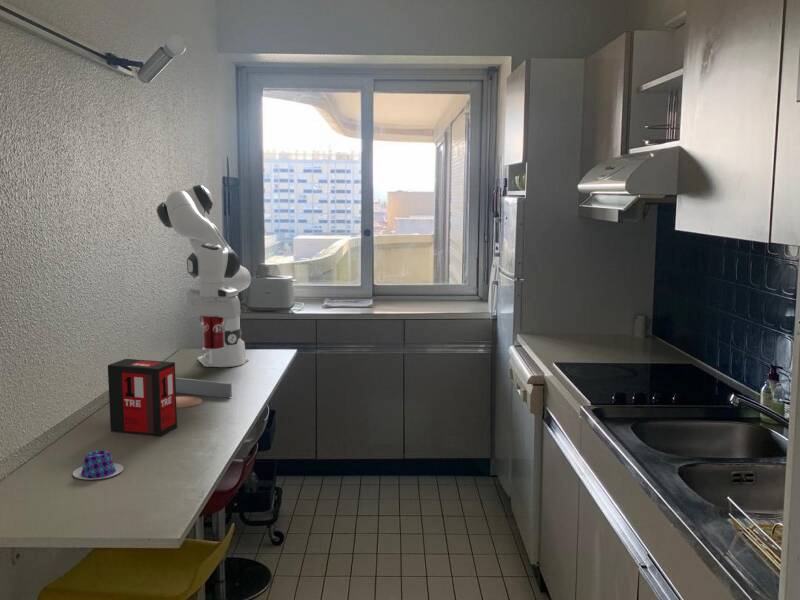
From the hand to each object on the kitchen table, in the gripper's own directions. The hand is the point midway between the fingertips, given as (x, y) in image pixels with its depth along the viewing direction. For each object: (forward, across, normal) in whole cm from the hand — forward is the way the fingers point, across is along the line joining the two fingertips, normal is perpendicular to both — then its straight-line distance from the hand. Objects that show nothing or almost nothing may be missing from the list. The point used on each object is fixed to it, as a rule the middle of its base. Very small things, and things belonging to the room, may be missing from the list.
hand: (213, 329), depth 284 cm
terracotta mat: (+21, 0, -20) cm, 29 cm away
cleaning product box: (+22, +7, -49) cm, 54 cm away
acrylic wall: (+21, 0, -9) cm, 23 cm away
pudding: (+22, +19, -82) cm, 87 cm away
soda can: (+7, 0, 0) cm, 7 cm away
